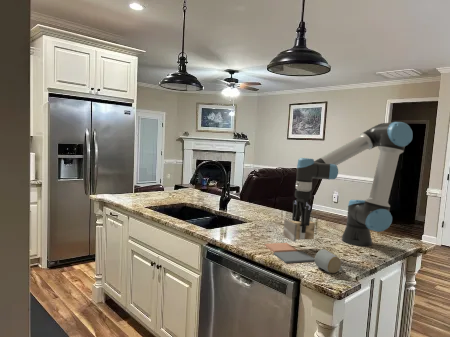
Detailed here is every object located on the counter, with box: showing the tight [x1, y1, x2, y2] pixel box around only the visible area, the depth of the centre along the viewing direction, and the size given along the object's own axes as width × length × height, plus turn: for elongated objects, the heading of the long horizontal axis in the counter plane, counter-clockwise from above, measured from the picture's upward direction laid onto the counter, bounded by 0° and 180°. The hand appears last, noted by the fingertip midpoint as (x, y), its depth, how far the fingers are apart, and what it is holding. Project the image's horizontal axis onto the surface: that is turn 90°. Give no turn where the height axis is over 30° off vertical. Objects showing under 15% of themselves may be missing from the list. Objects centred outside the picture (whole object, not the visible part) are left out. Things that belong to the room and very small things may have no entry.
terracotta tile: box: [264, 242, 298, 253], centre depth 155 cm, size 2×10×12 cm
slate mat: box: [272, 250, 315, 264], centre depth 144 cm, size 15×11×1 cm
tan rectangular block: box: [282, 219, 316, 243], centre depth 158 cm, size 13×10×8 cm
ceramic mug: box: [314, 249, 343, 274], centre depth 132 cm, size 11×8×8 cm
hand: (299, 237), depth 158 cm, fingers closed on tan rectangular block, 4 cm apart
